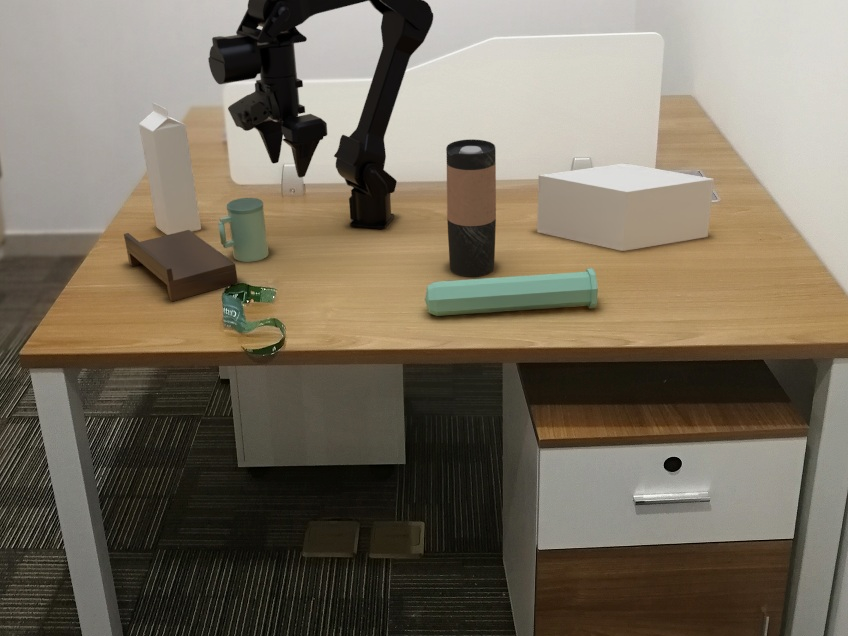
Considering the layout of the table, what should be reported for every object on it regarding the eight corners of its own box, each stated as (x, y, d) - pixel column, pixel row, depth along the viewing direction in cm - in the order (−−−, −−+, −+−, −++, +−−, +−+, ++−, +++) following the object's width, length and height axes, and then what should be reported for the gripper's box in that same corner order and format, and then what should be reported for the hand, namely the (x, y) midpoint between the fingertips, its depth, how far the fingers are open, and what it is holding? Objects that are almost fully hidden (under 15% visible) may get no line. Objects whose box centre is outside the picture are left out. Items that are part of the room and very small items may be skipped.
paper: (538, 217, 183) (540, 161, 178) (703, 221, 180) (709, 165, 174) (535, 248, 170) (536, 189, 165) (711, 253, 167) (719, 194, 162)
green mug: (259, 245, 174) (253, 195, 169) (275, 256, 170) (269, 204, 165) (216, 256, 170) (209, 205, 165) (231, 268, 166) (224, 215, 161)
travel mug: (501, 261, 166) (502, 141, 156) (487, 280, 160) (487, 156, 150) (457, 256, 168) (455, 137, 158) (441, 274, 162) (438, 152, 152)
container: (424, 280, 146) (596, 268, 147) (422, 278, 151) (588, 267, 153) (426, 321, 146) (598, 309, 148) (425, 318, 152) (590, 307, 153)
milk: (170, 238, 178) (148, 112, 167) (156, 227, 182) (134, 104, 171) (202, 229, 181) (183, 105, 170) (187, 219, 185) (168, 98, 174)
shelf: (191, 248, 173) (187, 218, 171) (238, 283, 161) (233, 251, 158) (129, 264, 168) (123, 233, 165) (172, 301, 155) (166, 269, 152)
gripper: (206, 71, 163) (218, 165, 171) (259, 94, 150) (270, 195, 157) (268, 60, 168) (278, 152, 176) (325, 82, 155) (332, 180, 163)
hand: (288, 169), depth 168 cm, fingers open, 9 cm apart
